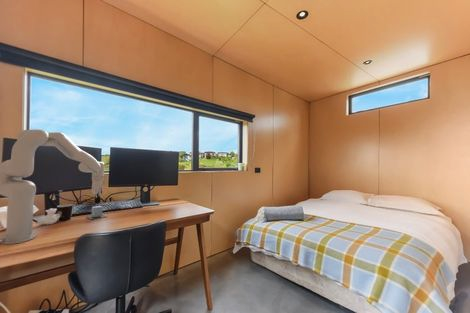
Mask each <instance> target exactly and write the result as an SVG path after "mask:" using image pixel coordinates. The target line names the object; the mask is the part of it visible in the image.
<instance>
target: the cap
mask: <svg viewBox="0 0 470 313" xmlns="http://www.w3.org/2000/svg"><path fill="white" fill-rule="evenodd" d="M102 214H103V206H102V205H96V206H91V216H93V217H98V216H102Z"/></svg>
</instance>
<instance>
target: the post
mask: <svg viewBox="0 0 470 313" xmlns="http://www.w3.org/2000/svg"><path fill="white" fill-rule="evenodd" d="M107 217H108V216H107V215H105V214H103V213H102V216H98V217H93V216H92V215H87V216H86V218H88V220H90V221H91V220H98V219H104V218H107Z"/></svg>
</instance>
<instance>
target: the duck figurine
mask: <svg viewBox="0 0 470 313" xmlns="http://www.w3.org/2000/svg"><path fill="white" fill-rule="evenodd" d="M56 211H57V208H56V209H55V208H49V209H46V210H45V212H46V213H47V214H46V215H43V216H41V217H39V218H38V219H37V224H38V225H39V226H41V225H52V224H55V223H57V222H58V221H59V220H58V219H59V218H60V214H57V213H56Z"/></svg>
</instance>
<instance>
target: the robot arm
mask: <svg viewBox="0 0 470 313" xmlns="http://www.w3.org/2000/svg"><path fill="white" fill-rule="evenodd" d="M16 139H17V140H16V141H15V142H14V144H13V145H12V148H11V153H10V154H11V156H10V159H8V160H4V161H3V162H1V164H0V196H3V197H7V198H9V200H8V203H7V207H6V227H5V228H6V230H5V232H4V233H3V234H1V235H0V243H1V244H2V245H14V244H20V243H25V242H29V241H31V240H34V239H35V238H36V237H37V233H36V232H35V233H34V232H33V229H34V228H33V227H34V226H33V225H34V221H33V220H34V203H35V197H36V193H37V186H36V184H35V183H34V182H33V181H31V180H25V179H22V178H28V177H31V175H33V173H34V171H35V170H34V169H35V155H36V150H37V149H38V148H39V147H40V146H41V147H42V146H44V147H55V148H57V150H59V151H60V153H62V154H63V155H64V156H65V157H67V158H68V159H69V160H73V161H76V162H80V163H79V164H78V170H79V171H80V172H82V173H91V181H92V183H91V193H92V194H93V195H94V204H101V197H102V194H103V193H104V180H105V162H103V161H98V160H97V159H96V158H95V157H94V156H93V155H91V154H89V153H88V152H86V151H84V150H83V149H81V148H80V147H79V146H77V145H76V144H75V143H74V141H72V139H70V138H69V136H67V135H66V134H65V133H63V132H48V131H46V130H44V129H24V130H23V129H22V130H20V131H18V132H17V134H16Z"/></svg>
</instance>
